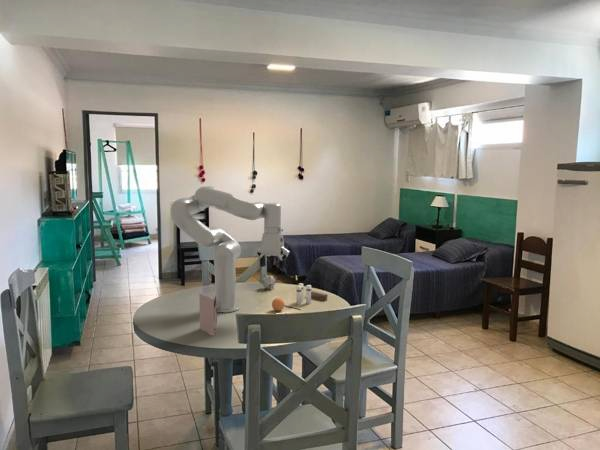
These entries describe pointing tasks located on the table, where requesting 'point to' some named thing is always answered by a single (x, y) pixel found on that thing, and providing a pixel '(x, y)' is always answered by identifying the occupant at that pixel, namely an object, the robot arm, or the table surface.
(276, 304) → the ball
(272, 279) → the game die
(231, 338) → the table surface
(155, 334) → the table surface
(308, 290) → the pin
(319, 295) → the backstop wall
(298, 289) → the front pin
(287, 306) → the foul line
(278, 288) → the table surface
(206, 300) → the greeting card
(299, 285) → the pin
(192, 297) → the table surface
